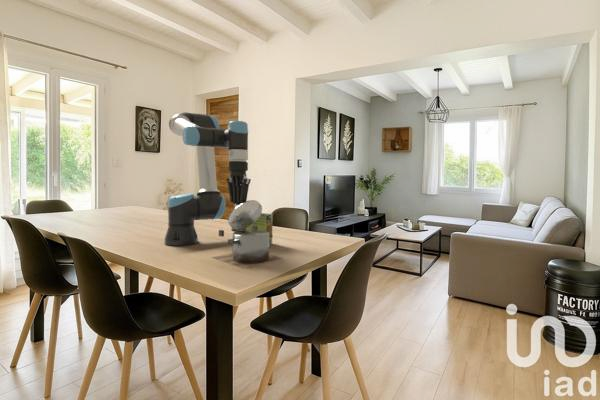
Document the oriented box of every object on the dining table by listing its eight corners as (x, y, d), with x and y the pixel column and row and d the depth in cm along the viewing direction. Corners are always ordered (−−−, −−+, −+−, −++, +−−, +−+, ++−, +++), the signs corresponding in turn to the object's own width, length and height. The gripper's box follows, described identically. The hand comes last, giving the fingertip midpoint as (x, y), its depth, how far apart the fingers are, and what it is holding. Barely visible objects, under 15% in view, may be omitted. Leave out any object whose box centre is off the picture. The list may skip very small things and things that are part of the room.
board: (211, 260, 129) (211, 257, 129) (251, 252, 144) (251, 249, 144) (243, 271, 116) (243, 268, 116) (283, 261, 131) (283, 258, 130)
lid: (223, 232, 128) (219, 226, 129) (253, 228, 138) (248, 222, 140) (238, 203, 121) (233, 196, 122) (267, 201, 131) (262, 195, 133)
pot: (216, 258, 127) (216, 230, 126) (255, 250, 142) (256, 225, 141) (242, 267, 117) (242, 236, 116) (281, 257, 131) (281, 230, 130)
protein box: (266, 250, 147) (266, 216, 146) (233, 248, 150) (233, 214, 149) (272, 245, 158) (273, 213, 156) (242, 243, 161) (242, 211, 159)
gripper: (220, 161, 133) (221, 219, 134) (240, 160, 124) (240, 222, 126) (236, 161, 138) (236, 218, 140) (256, 161, 130) (255, 220, 131)
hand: (238, 220), depth 133 cm, fingers closed
